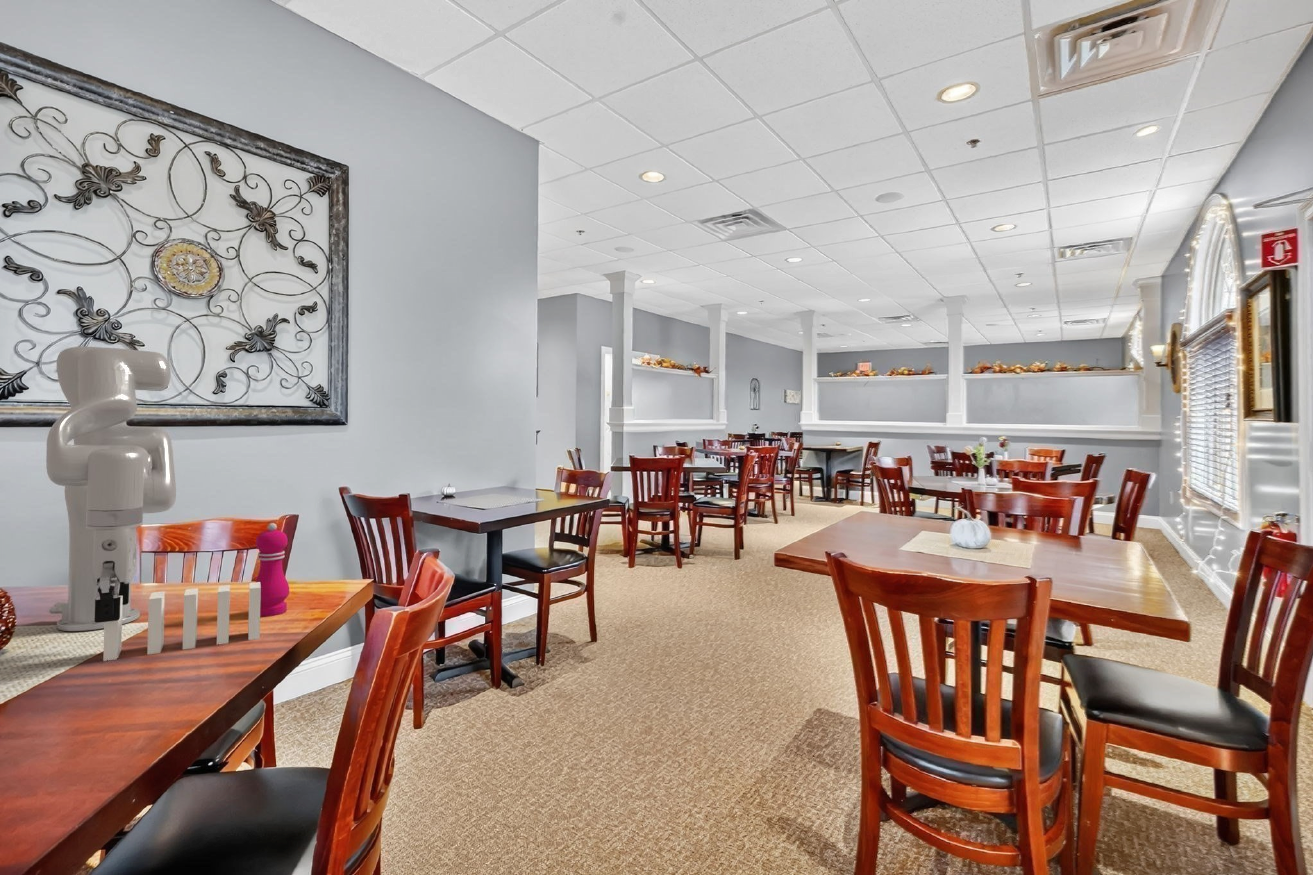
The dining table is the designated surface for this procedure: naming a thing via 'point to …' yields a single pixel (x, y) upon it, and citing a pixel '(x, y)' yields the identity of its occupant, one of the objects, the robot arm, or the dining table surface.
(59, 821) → the dining table surface
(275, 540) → the pepper mill
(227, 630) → the domino
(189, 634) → the domino
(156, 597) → the domino
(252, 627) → the domino
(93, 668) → the dining table surface
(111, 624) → the domino loose
